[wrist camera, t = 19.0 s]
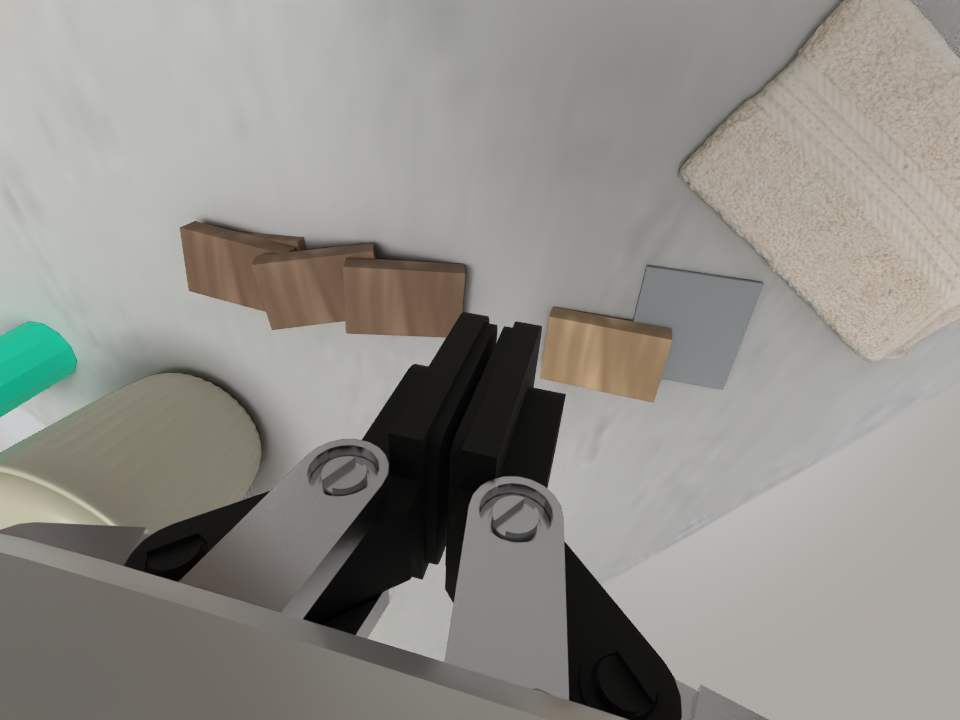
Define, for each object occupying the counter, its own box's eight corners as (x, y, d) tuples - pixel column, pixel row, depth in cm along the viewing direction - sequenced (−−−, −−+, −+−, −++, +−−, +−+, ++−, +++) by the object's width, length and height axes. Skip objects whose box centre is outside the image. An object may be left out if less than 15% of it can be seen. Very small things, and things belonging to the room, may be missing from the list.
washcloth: (864, 357, 35) (883, 383, 32) (666, 170, 32) (670, 182, 29) (1083, 220, 28) (1128, 239, 26) (861, -28, 25) (888, -35, 23)
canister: (146, 469, 58) (-62, 658, 40) (99, 322, 48) (-203, 488, 31) (301, 509, 55) (151, 730, 38) (284, 363, 46) (71, 569, 28)
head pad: (762, 281, 33) (763, 283, 33) (722, 387, 37) (722, 389, 37) (646, 265, 34) (647, 266, 34) (621, 369, 39) (620, 371, 38)
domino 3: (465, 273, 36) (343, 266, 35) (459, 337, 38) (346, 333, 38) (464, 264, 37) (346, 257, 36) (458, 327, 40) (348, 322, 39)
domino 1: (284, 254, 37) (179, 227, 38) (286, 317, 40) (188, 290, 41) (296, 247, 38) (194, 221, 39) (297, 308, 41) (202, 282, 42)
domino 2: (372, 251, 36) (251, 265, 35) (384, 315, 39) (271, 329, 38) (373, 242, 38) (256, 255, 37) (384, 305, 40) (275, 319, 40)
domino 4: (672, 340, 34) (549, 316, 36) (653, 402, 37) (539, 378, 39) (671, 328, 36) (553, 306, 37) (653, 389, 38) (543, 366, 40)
